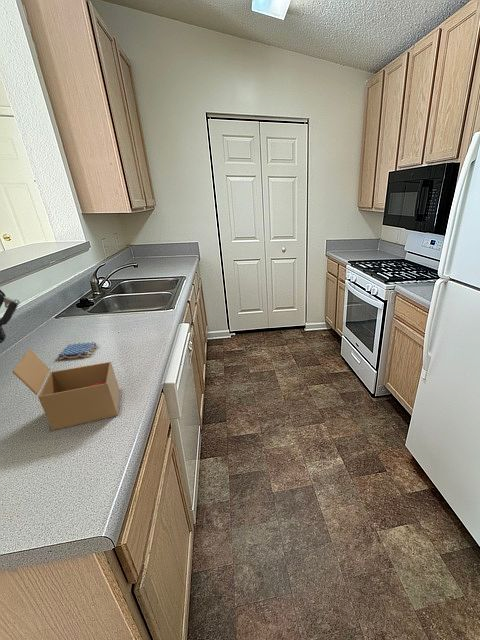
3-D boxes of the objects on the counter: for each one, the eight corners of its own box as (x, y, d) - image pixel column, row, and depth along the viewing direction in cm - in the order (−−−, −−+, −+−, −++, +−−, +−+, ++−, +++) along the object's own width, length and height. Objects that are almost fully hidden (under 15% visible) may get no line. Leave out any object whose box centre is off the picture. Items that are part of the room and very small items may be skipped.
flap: (37, 394, 79) (36, 394, 79) (50, 369, 90) (48, 370, 90) (13, 371, 75) (11, 372, 75) (29, 348, 86) (28, 349, 86)
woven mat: (57, 360, 120) (55, 355, 119) (69, 348, 129) (67, 343, 128) (89, 357, 121) (87, 352, 120) (98, 345, 131) (97, 341, 130)
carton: (52, 430, 84) (37, 397, 79) (62, 402, 95) (50, 372, 90) (117, 415, 89) (107, 383, 84) (119, 390, 100) (111, 361, 96)
